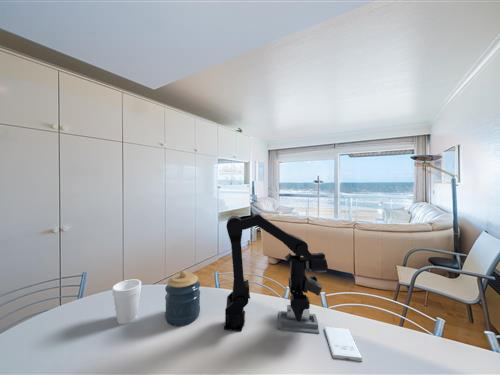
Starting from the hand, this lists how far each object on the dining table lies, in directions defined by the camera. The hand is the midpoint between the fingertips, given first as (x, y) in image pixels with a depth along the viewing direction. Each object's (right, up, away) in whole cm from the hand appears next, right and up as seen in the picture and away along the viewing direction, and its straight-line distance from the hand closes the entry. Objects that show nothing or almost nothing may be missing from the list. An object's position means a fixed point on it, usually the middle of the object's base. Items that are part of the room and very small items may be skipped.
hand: (297, 313), depth 78 cm
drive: (0, -3, 0) cm, 3 cm away
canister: (-44, -3, +3) cm, 44 cm away
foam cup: (-65, -3, +1) cm, 65 cm away
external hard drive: (+12, -4, -10) cm, 16 cm away
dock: (0, -3, 0) cm, 3 cm away
